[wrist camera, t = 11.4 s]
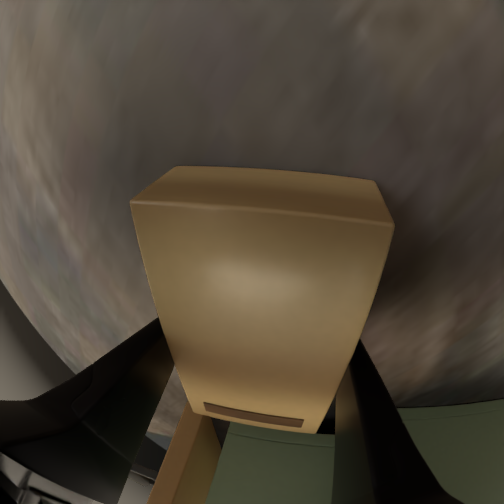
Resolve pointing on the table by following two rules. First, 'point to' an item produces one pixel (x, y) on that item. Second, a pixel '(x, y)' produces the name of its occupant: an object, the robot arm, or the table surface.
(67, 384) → the robot arm
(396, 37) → the table surface
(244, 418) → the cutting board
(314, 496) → the drawer
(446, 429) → the cabinet
